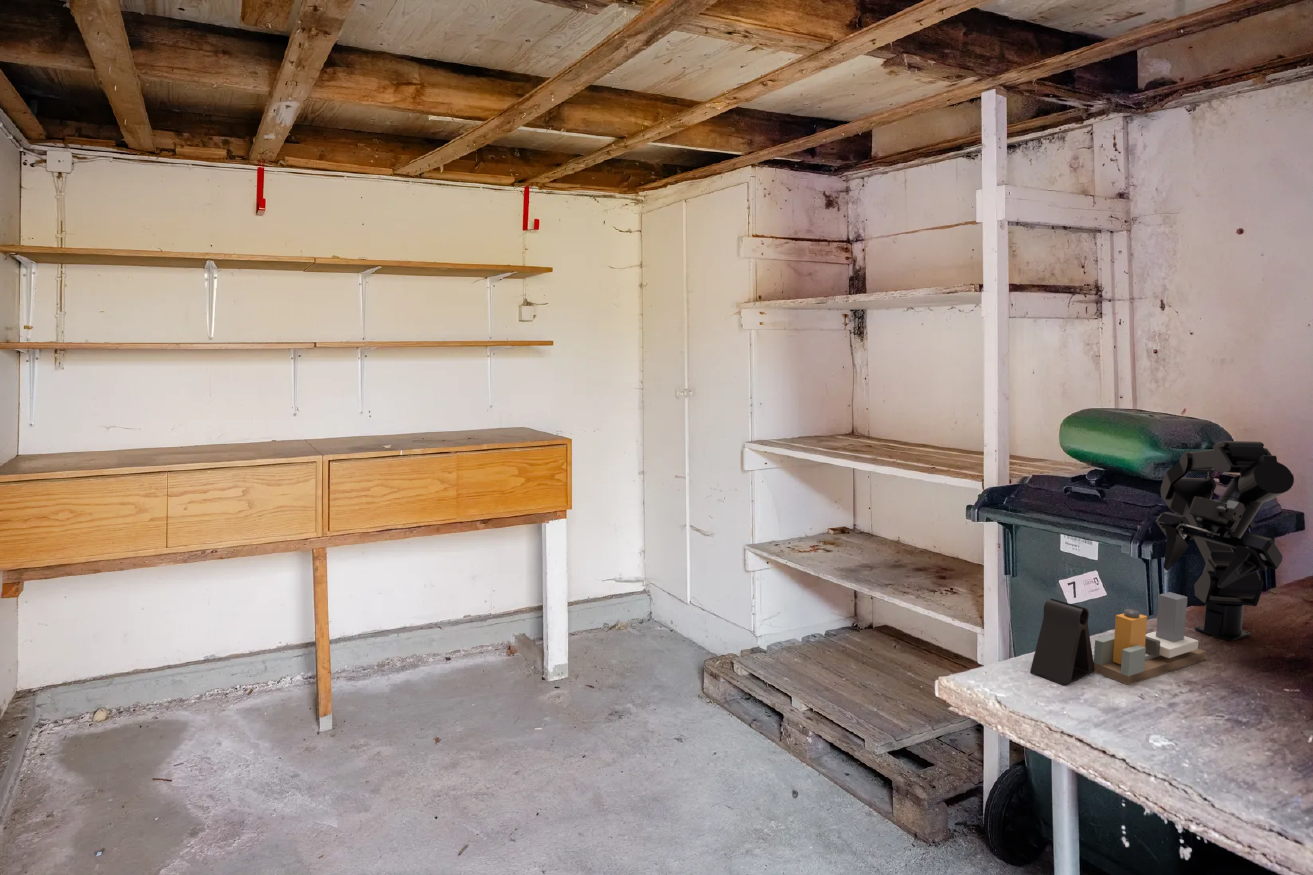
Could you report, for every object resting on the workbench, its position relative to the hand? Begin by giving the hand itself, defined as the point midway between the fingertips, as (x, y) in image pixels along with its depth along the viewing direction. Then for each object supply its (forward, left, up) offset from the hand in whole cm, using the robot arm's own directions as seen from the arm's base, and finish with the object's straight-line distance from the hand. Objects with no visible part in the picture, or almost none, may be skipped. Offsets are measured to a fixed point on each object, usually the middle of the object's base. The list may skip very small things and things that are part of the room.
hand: (1191, 577), depth 140 cm
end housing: (+19, 0, -12) cm, 23 cm away
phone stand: (+26, -5, -14) cm, 30 cm away
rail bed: (+10, 0, -14) cm, 17 cm away
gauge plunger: (+16, 0, -12) cm, 20 cm away
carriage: (+6, 0, -11) cm, 13 cm away
